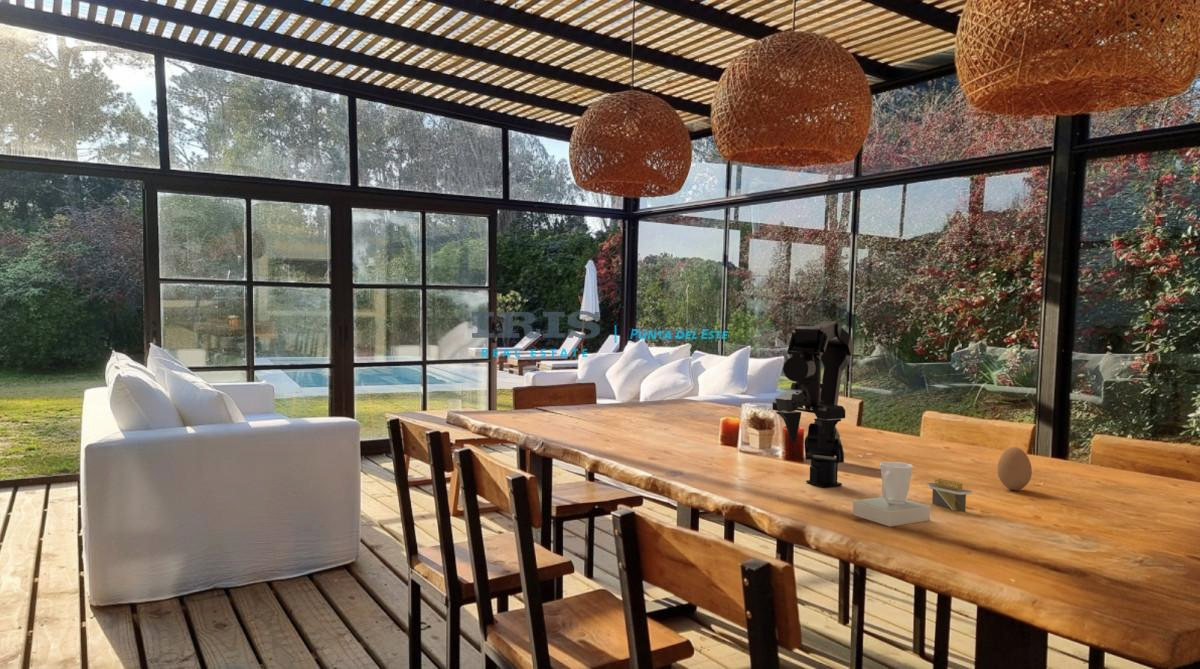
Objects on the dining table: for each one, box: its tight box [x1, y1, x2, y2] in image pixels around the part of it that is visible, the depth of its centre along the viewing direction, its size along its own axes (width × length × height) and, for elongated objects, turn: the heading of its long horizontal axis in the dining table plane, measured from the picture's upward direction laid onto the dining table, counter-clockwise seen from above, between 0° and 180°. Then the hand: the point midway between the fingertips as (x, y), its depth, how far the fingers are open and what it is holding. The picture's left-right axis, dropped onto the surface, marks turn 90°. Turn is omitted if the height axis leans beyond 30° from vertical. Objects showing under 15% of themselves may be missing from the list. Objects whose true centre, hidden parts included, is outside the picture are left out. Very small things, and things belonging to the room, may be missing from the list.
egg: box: [996, 446, 1033, 491], centre depth 187 cm, size 8×8×11 cm
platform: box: [927, 478, 973, 512], centre depth 168 cm, size 12×18×7 cm, turn 33°
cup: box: [879, 461, 914, 504], centre depth 158 cm, size 7×10×8 cm
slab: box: [852, 496, 931, 527], centre depth 159 cm, size 12×10×3 cm
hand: (806, 444), depth 176 cm, fingers open, 9 cm apart
